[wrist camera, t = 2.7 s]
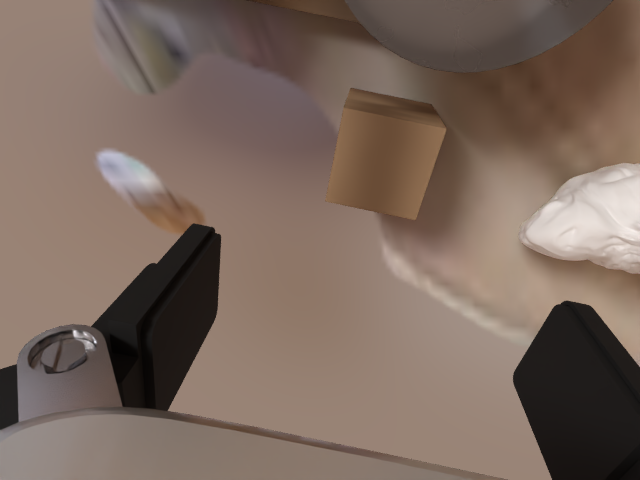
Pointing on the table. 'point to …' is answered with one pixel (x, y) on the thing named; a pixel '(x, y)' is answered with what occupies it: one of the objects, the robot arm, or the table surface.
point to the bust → (591, 220)
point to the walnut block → (384, 153)
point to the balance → (473, 29)
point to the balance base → (316, 7)
